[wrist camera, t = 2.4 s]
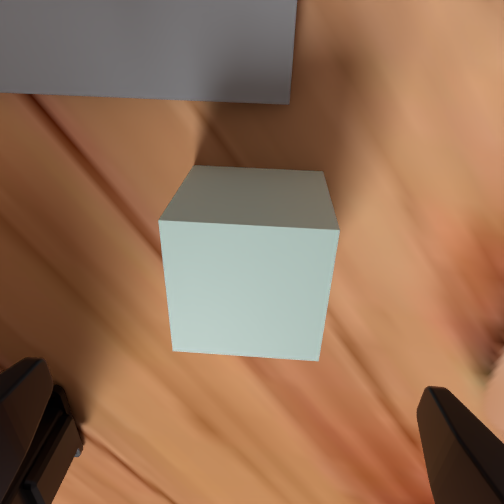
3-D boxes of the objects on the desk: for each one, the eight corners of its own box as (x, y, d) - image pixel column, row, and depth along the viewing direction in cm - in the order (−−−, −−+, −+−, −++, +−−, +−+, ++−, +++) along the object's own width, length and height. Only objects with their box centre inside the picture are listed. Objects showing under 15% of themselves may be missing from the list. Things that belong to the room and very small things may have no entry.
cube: (199, 270, 17) (172, 351, 13) (194, 164, 15) (158, 220, 11) (309, 277, 17) (318, 361, 13) (322, 170, 15) (339, 229, 10)
